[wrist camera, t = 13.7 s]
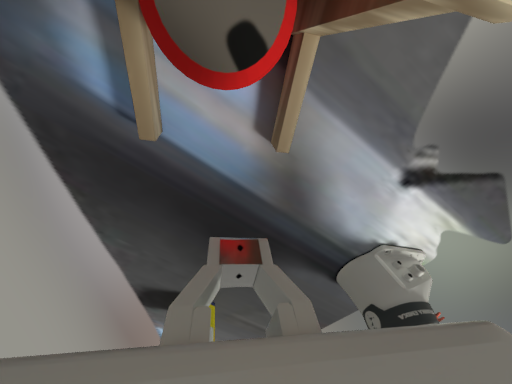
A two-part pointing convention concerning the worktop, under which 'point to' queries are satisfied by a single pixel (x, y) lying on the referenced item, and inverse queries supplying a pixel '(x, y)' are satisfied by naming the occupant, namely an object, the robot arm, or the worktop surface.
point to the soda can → (221, 37)
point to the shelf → (301, 53)
